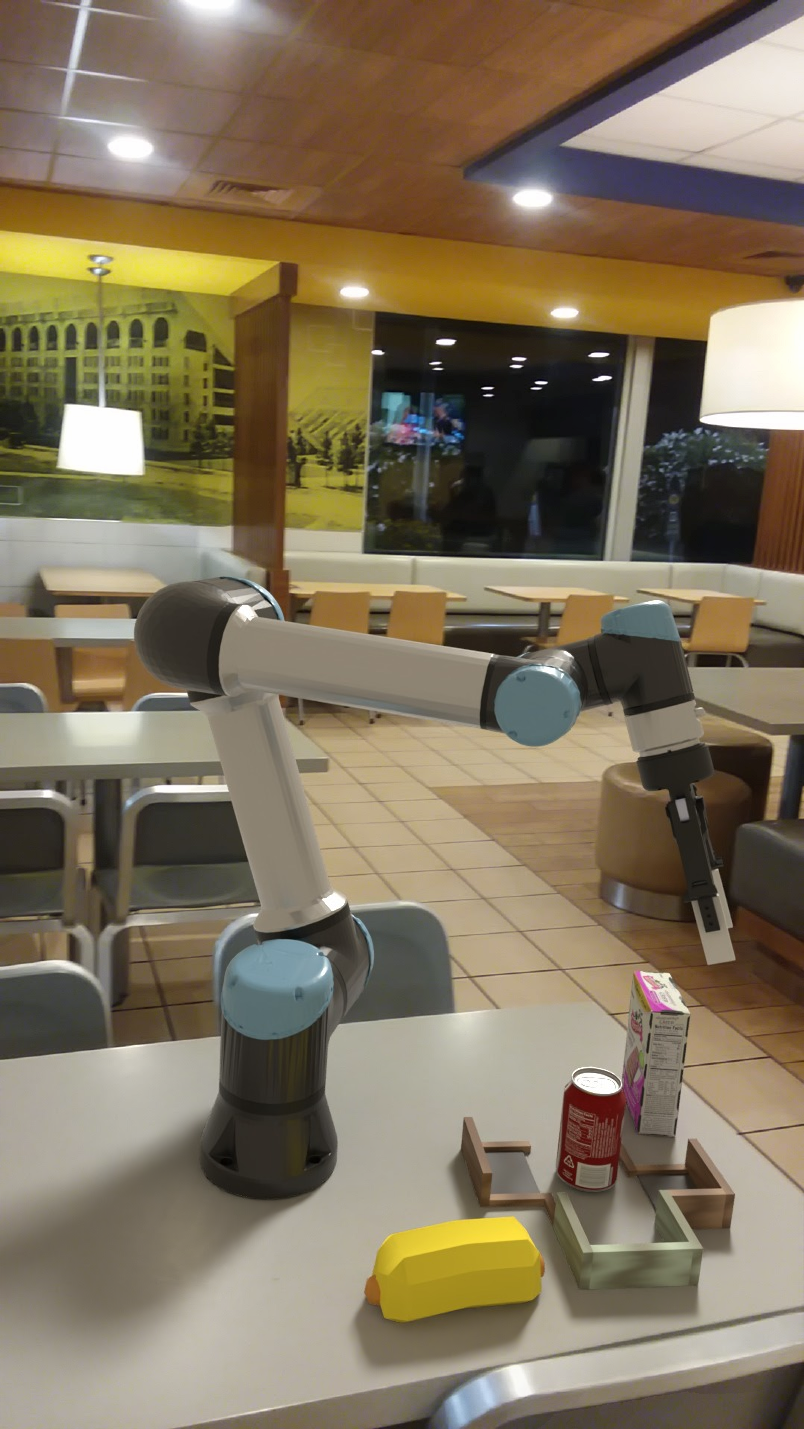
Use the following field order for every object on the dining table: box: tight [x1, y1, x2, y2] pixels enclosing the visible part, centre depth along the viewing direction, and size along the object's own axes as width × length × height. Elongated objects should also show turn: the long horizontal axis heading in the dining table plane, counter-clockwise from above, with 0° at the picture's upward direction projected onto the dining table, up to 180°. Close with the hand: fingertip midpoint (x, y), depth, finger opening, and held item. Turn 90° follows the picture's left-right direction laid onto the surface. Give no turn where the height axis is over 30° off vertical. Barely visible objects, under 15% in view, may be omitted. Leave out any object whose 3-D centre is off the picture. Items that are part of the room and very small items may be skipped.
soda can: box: [555, 1066, 627, 1193], centre depth 119 cm, size 7×7×12 cm
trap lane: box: [460, 1116, 736, 1291], centre depth 114 cm, size 26×23×4 cm
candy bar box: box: [621, 970, 691, 1138], centre depth 133 cm, size 11×5×16 cm, turn 179°
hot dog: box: [363, 1216, 546, 1324], centre depth 100 cm, size 18×7×8 cm
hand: (721, 944), depth 112 cm, fingers open, 13 cm apart
